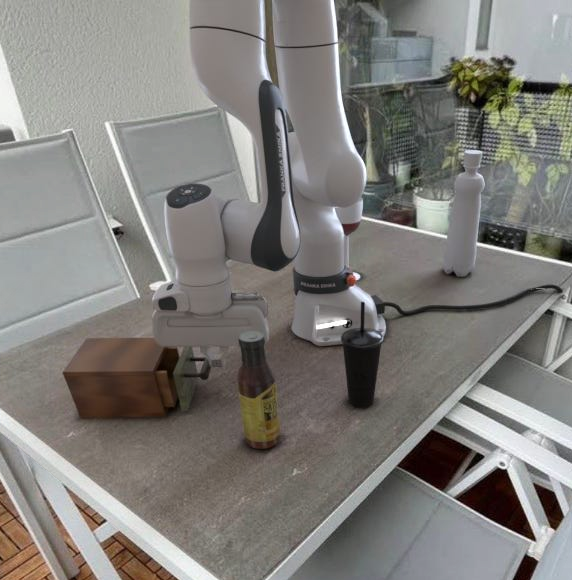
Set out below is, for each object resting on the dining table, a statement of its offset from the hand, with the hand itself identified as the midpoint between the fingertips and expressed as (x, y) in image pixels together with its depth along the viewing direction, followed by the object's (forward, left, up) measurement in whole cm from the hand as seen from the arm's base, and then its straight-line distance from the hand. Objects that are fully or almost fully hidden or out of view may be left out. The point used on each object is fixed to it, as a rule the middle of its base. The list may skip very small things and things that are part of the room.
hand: (218, 365), depth 103 cm
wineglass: (-26, -62, -7) cm, 68 cm away
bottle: (-58, -65, -7) cm, 88 cm away
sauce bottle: (-9, +14, -7) cm, 18 cm away
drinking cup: (-27, +2, -7) cm, 28 cm away
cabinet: (+18, 0, -7) cm, 19 cm away
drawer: (+11, 0, -6) cm, 13 cm away
